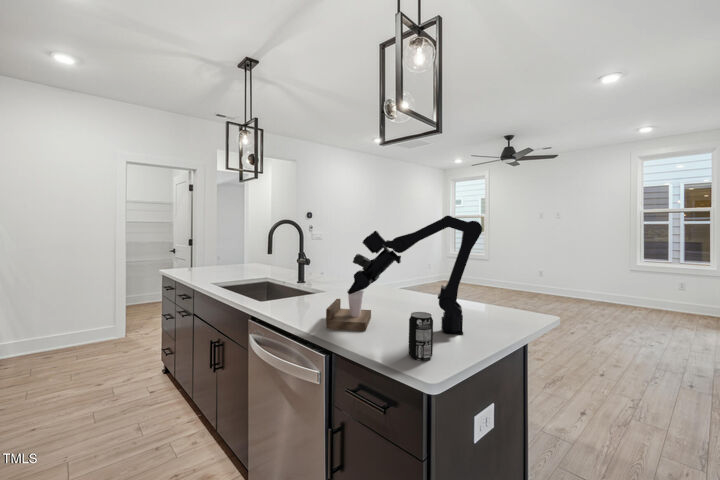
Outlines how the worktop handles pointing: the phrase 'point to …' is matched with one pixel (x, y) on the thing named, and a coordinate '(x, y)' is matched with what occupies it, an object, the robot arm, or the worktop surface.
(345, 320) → the wooden l-shaped block
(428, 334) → the beverage can
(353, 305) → the smoothie
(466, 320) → the worktop surface
